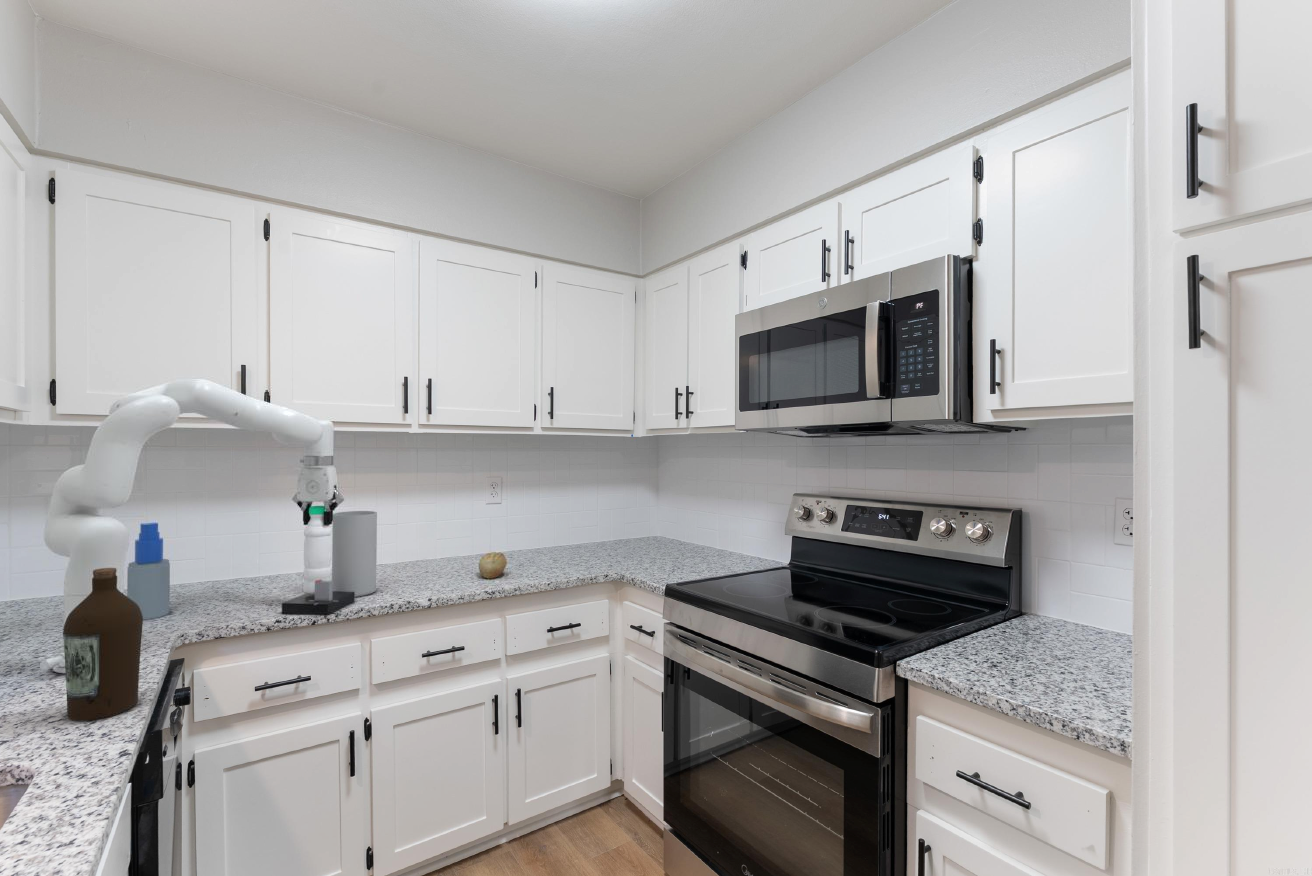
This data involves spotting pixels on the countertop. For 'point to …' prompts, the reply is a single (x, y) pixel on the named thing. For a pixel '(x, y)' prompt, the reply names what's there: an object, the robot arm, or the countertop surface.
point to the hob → (317, 604)
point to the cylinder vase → (354, 552)
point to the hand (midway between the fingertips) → (317, 523)
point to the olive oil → (102, 651)
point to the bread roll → (492, 565)
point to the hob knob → (323, 591)
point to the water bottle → (316, 550)
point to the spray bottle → (149, 574)
